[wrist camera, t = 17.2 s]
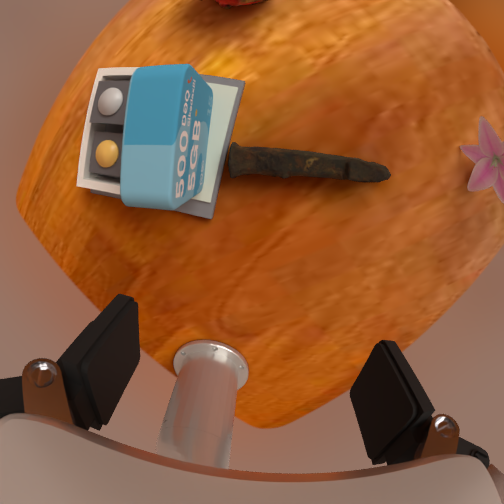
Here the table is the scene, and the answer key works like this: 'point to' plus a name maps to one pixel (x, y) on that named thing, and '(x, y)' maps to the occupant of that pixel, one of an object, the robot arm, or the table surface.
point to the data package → (165, 136)
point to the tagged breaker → (106, 153)
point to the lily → (486, 160)
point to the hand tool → (302, 164)
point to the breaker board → (218, 143)
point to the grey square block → (110, 102)
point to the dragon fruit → (236, 2)
